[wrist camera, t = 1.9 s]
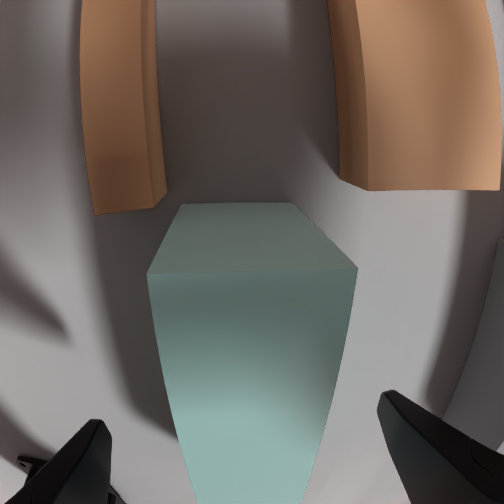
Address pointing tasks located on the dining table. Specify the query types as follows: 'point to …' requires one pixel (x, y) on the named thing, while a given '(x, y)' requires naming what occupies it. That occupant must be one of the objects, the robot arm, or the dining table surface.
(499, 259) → the rubber rod
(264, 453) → the teal rod
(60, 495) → the robot arm
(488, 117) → the comb board
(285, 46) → the dining table surface
